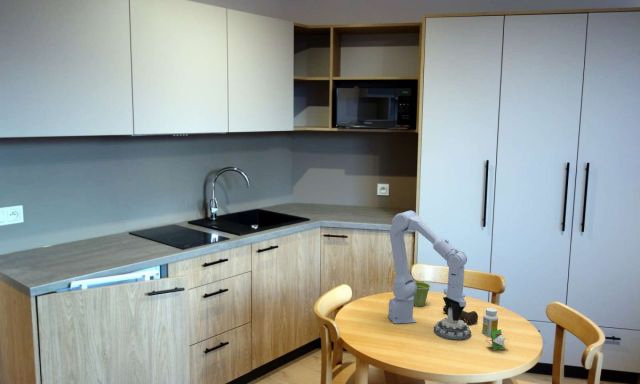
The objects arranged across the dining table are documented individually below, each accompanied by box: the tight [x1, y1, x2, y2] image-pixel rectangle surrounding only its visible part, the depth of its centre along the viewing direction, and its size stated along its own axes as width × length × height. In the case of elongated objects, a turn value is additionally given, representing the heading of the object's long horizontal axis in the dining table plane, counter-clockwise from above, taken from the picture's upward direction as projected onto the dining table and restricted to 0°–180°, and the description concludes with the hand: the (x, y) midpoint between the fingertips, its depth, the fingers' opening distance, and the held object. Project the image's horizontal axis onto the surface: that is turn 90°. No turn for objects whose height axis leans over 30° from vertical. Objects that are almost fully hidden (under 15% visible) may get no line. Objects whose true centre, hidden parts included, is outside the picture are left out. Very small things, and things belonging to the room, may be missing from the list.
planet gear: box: [441, 307, 465, 329], centre depth 202 cm, size 8×8×6 cm
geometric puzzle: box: [485, 329, 505, 351], centre depth 190 cm, size 7×7×8 cm
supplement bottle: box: [481, 307, 499, 337], centre depth 202 cm, size 5×5×10 cm
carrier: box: [433, 320, 472, 341], centre depth 203 cm, size 14×14×2 cm
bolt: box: [442, 305, 479, 326], centre depth 217 cm, size 6×5×15 cm
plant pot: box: [413, 281, 431, 307], centre depth 232 cm, size 9×9×9 cm
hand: (453, 318), depth 202 cm, fingers closed on planet gear, 4 cm apart
